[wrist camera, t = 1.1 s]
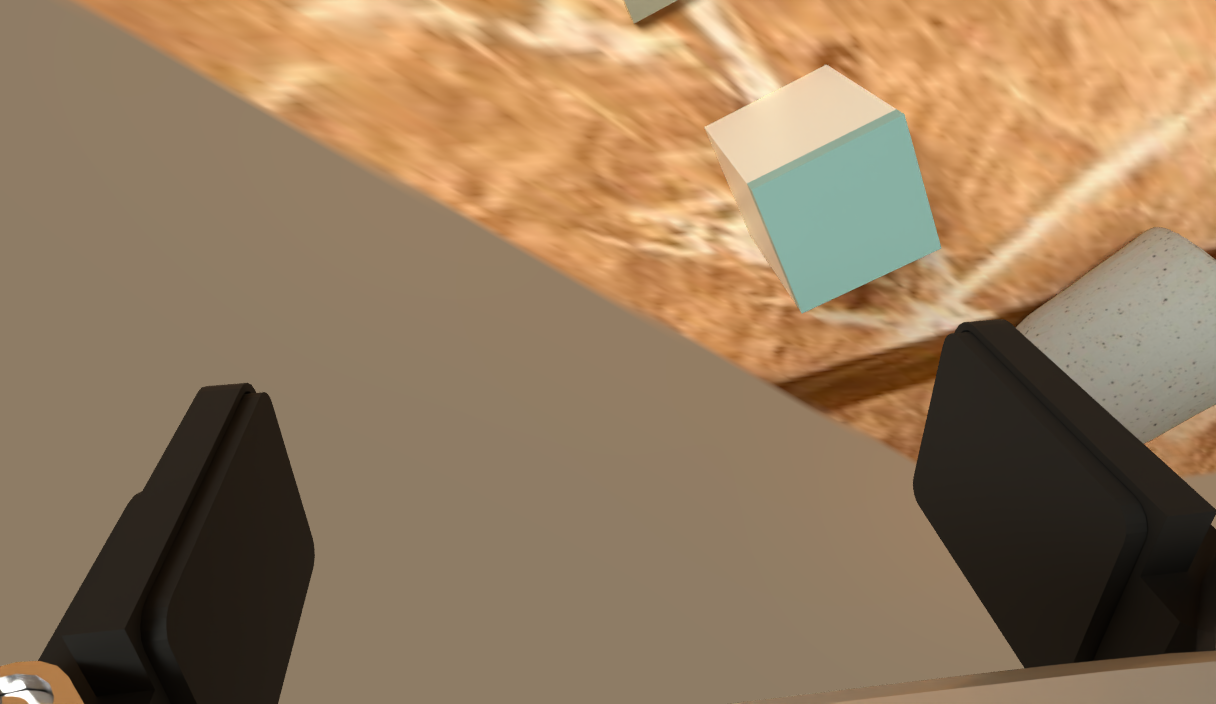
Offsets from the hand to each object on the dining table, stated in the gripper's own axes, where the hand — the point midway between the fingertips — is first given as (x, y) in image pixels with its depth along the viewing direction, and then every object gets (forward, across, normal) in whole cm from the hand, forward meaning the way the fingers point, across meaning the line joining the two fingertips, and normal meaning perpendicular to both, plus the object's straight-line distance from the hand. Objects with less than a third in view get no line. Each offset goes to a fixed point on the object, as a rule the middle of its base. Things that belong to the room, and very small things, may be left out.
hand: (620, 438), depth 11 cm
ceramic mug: (+23, -26, +13) cm, 37 cm away
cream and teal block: (+22, -10, +4) cm, 25 cm away
